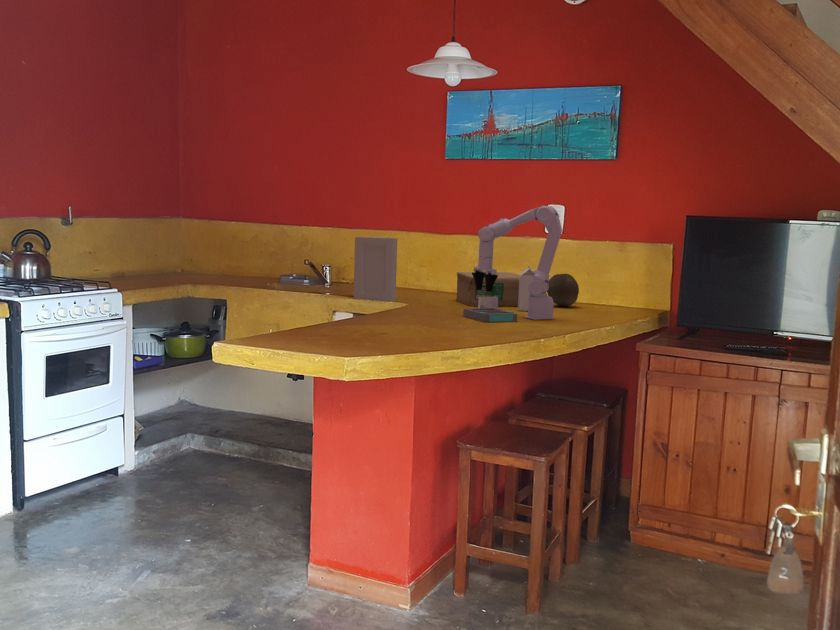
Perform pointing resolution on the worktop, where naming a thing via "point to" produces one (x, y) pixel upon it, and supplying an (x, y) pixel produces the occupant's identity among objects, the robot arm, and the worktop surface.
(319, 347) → the worktop surface
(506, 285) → the paper package
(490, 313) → the slot rack
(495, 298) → the grey slab
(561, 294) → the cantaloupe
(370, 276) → the grooved grey upright panel
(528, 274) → the milk carton
